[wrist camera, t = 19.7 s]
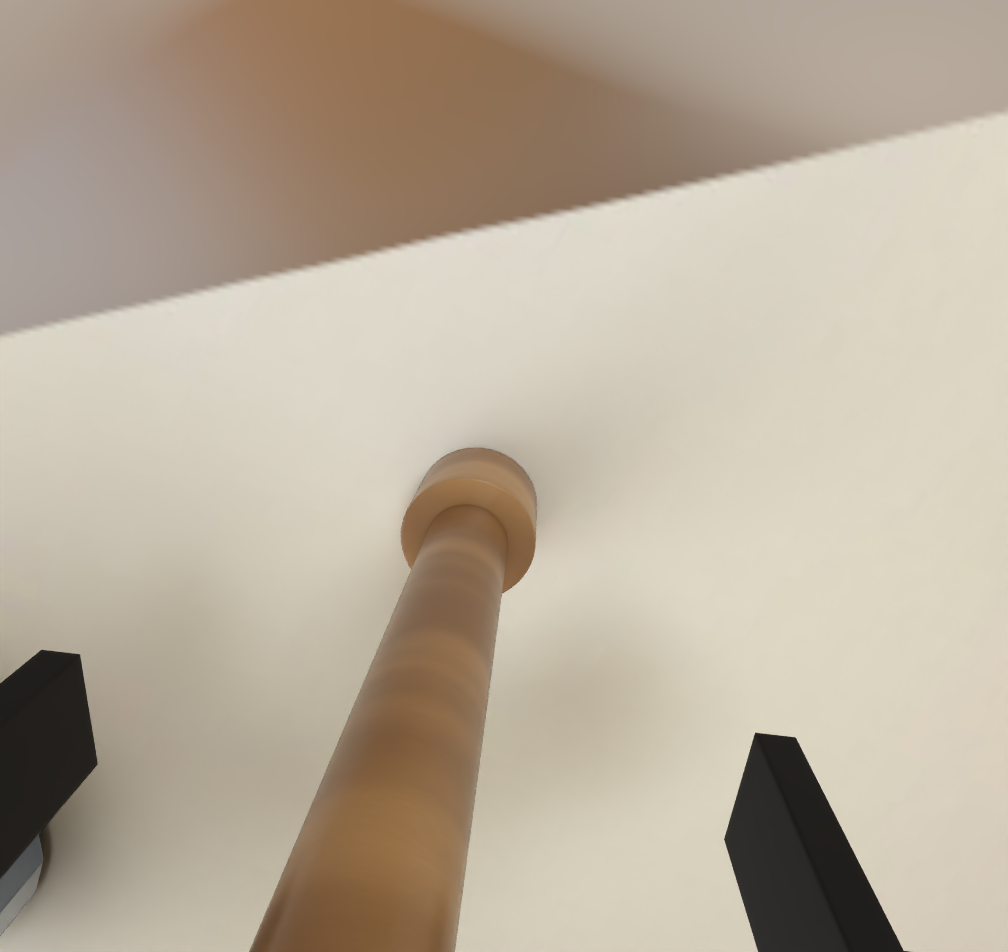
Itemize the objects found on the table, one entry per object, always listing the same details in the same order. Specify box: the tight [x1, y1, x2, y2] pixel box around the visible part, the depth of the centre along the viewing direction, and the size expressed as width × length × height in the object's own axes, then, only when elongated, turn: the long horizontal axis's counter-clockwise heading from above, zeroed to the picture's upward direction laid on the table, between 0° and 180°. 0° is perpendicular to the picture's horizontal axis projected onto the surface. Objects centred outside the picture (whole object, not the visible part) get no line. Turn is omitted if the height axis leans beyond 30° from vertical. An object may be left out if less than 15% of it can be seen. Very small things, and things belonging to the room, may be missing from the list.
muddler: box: [249, 448, 537, 952], centre depth 14 cm, size 4×4×16 cm
